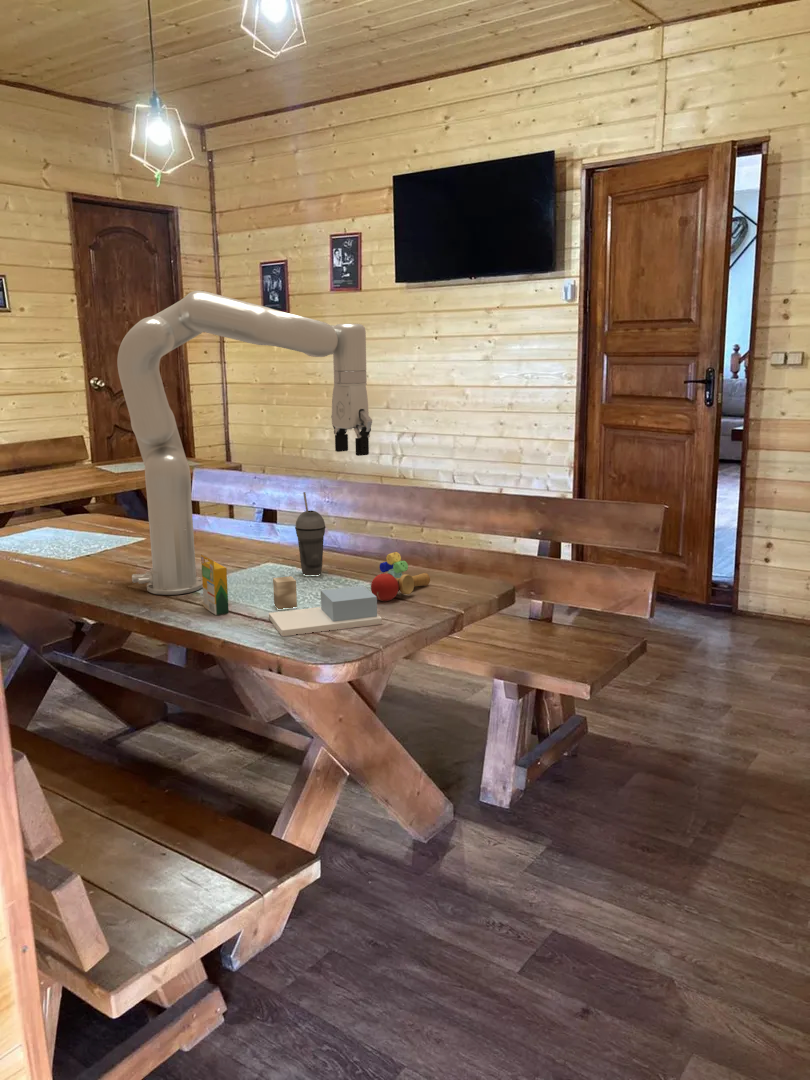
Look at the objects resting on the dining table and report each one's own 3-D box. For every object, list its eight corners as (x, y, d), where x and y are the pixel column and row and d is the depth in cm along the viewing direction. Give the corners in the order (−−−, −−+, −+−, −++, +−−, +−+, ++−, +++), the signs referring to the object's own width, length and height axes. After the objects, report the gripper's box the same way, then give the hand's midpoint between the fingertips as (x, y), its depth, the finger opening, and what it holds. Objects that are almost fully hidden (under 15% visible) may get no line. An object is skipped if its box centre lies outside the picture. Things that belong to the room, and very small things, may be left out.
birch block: (278, 610, 182) (277, 582, 180) (274, 605, 185) (272, 578, 184) (297, 608, 183) (296, 580, 182) (292, 603, 187) (291, 576, 185)
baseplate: (282, 636, 165) (281, 610, 164) (269, 618, 176) (267, 593, 175) (382, 623, 172) (381, 598, 171) (363, 607, 183) (362, 583, 182)
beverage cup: (322, 578, 206) (319, 495, 202) (292, 577, 208) (289, 494, 203) (330, 571, 213) (328, 490, 209) (302, 570, 214) (299, 489, 210)
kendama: (407, 588, 203) (359, 595, 188) (413, 562, 202) (365, 567, 187) (434, 599, 199) (386, 607, 184) (440, 573, 197) (393, 579, 183)
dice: (378, 576, 208) (378, 550, 207) (387, 574, 210) (386, 548, 208) (400, 582, 202) (400, 555, 201) (409, 580, 204) (409, 553, 203)
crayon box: (229, 613, 180) (226, 558, 178) (215, 615, 178) (212, 560, 176) (216, 605, 186) (213, 552, 184) (203, 607, 184) (199, 553, 182)
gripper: (318, 378, 206) (320, 451, 210) (354, 380, 192) (356, 458, 195) (346, 377, 210) (347, 448, 213) (383, 379, 196) (384, 455, 199)
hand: (351, 453), depth 204 cm, fingers open, 9 cm apart
